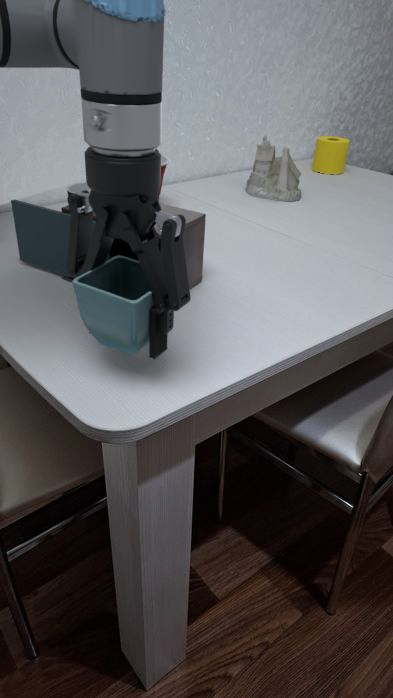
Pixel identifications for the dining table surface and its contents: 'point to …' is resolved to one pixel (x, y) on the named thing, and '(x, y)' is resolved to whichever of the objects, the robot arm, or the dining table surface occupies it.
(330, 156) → the yellow toilet paper roll
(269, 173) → the ceramic cottage
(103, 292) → the flower pot
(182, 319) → the dining table surface
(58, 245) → the sliding door
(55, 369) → the dining table surface
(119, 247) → the cabinet
